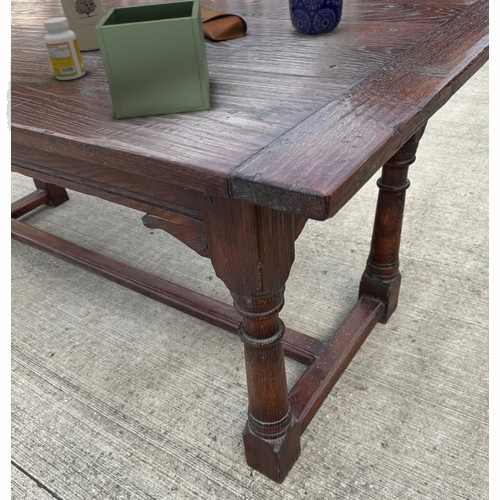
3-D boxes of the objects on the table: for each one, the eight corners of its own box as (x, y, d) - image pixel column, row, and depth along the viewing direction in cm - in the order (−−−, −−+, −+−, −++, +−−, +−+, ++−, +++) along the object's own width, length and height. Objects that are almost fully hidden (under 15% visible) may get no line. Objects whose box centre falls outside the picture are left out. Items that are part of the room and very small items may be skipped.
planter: (284, 38, 103) (282, -23, 96) (295, 25, 111) (293, -32, 105) (338, 38, 100) (340, -26, 93) (345, 24, 108) (347, -35, 102)
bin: (116, 119, 74) (94, 27, 67) (128, 88, 85) (110, 7, 78) (209, 109, 74) (197, 17, 67) (209, 80, 85) (199, -2, 78)
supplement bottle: (73, 70, 97) (57, 15, 91) (92, 73, 94) (77, 17, 89) (50, 78, 94) (32, 22, 88) (68, 82, 91) (51, 24, 85)
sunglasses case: (173, 28, 117) (182, -2, 115) (198, 38, 121) (207, 10, 120) (215, 40, 104) (226, 7, 102) (240, 51, 109) (251, 20, 107)
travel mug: (74, 45, 114) (49, -48, 103) (110, 40, 115) (89, -52, 104) (73, 53, 107) (46, -44, 97) (111, 48, 108) (88, -49, 98)
